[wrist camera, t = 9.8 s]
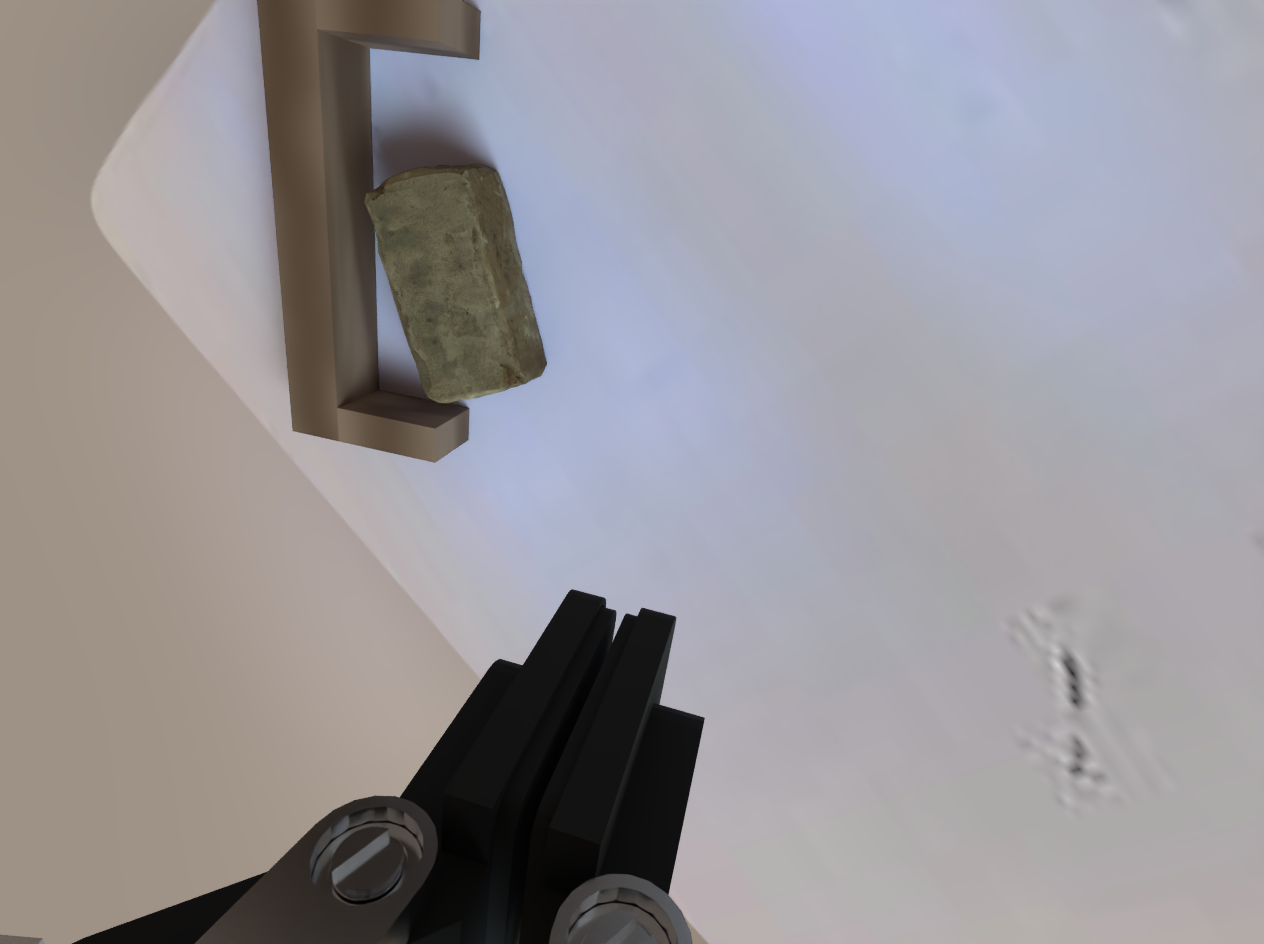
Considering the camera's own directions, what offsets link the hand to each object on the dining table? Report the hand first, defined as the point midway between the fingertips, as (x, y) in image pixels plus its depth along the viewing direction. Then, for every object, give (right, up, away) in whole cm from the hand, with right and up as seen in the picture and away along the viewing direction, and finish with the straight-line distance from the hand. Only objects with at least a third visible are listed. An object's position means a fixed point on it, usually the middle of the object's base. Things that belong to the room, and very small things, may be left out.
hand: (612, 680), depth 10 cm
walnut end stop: (-13, +16, +27) cm, 34 cm away
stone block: (-8, +14, +27) cm, 31 cm away
